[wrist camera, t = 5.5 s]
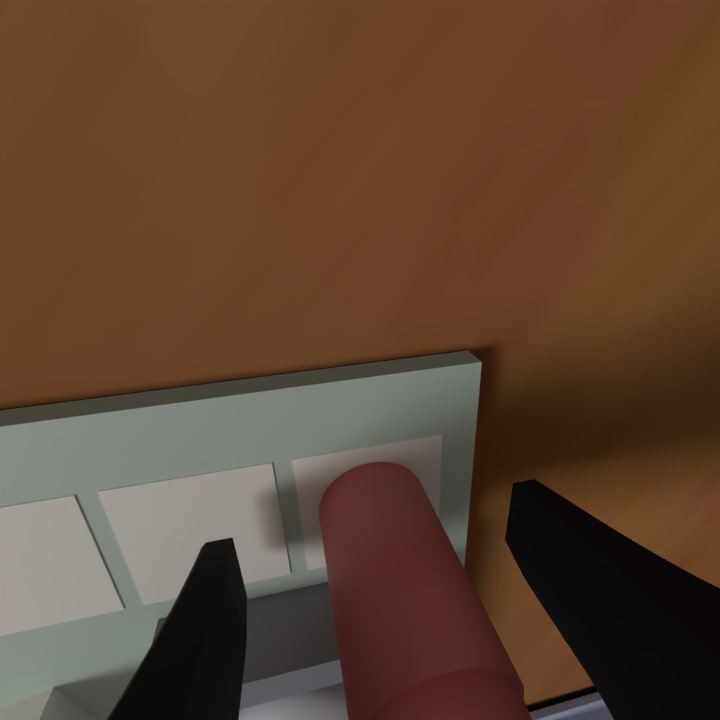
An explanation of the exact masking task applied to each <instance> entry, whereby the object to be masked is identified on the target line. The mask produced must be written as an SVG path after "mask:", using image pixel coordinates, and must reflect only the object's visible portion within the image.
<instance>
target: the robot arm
mask: <svg viewBox="0 0 720 720" xmlns="http://www.w3.org/2000/svg"><path fill="white" fill-rule="evenodd" d="M505 540H506V542H507V544H508V547H509V549H510V551H511V553H512V555H513V557H514V559H515V561H516V563H517V565H518V566H519V568H520V570H521V572H522V574H523V576H524V578H525V580H526V581H527V583H528V584H529V586H530V587H531V589H532V591H533V592H534V594H535V595H536V597H537V598H538V600H539V601H540V603H541V604H542V606H543V607H544V609H545V610H546V612H547V613H548V615H549V617H550V618H551V620H552V621H553V623H554V624H555V626H556V627H557V629H558V630H559V632H560V633H561V635H562V636H563V638H564V639H565V641H566V642H567V644H568V645H569V647H570V648H571V650H572V651H573V653H574V654H575V656H576V657H577V659H578V660H579V662H580V663H581V665H582V666H583V668H584V669H585V671H586V673H587V674H588V676H589V677H590V679H591V681H592V682H593V684H594V686H595V687H596V689H597V690H598V692H595V693H592V694H588V695H585V696H582V697H578V698H575V699H572V700H568V701H565V702H562V703H558V704H555V705H552V706H548V707H545V708H542V709H538V710H535V711H531V712H529V713H530V716H531V719H532V720H720V588H718V587H716V586H714V585H712V584H710V583H708V582H706V581H704V580H702V579H700V578H698V577H696V576H694V575H692V574H691V573H689V572H687V571H685V570H683V569H681V568H679V567H678V566H676V565H674V564H672V563H671V562H669V561H667V560H665V559H663V558H662V557H660V556H658V555H656V554H655V553H653V552H651V551H649V550H648V549H646V548H644V547H642V546H641V545H639V544H637V543H636V542H634V541H632V540H631V539H629V538H627V537H626V536H624V535H622V534H621V533H619V532H617V531H616V530H614V529H613V528H611V527H609V526H608V525H606V524H604V523H603V522H601V521H600V520H598V519H597V518H595V517H593V516H592V515H590V514H589V513H587V512H585V511H584V510H582V509H581V508H579V507H578V506H576V505H575V504H573V503H571V502H570V501H568V500H567V499H565V498H564V497H562V496H560V495H559V494H557V493H556V492H554V491H553V490H551V489H549V488H548V487H546V486H544V485H543V484H541V483H540V482H538V481H536V480H534V479H533V480H528V481H522V482H517V483H513V488H512V495H511V502H510V509H509V516H508V523H507V530H506V537H505ZM246 642H247V594H246V590H245V586H244V582H243V578H242V574H241V569H240V565H239V561H238V557H237V553H236V549H235V545H234V541H233V537H232V538H227V539H221V540H216V541H211V542H206V543H205V544H204V545H203V546H202V547H201V550H200V552H199V554H198V556H197V558H196V561H195V563H194V565H193V567H192V569H191V571H190V573H189V575H188V577H187V579H186V581H185V583H184V585H183V587H182V589H181V591H180V593H179V595H178V597H177V599H176V601H175V603H174V605H173V607H172V609H171V610H170V612H169V614H168V616H167V618H166V619H165V621H164V623H163V625H162V627H161V629H160V630H159V632H158V634H157V636H156V638H155V640H154V641H153V643H152V645H151V647H150V649H149V650H148V652H147V654H146V655H145V657H144V659H143V660H142V662H141V664H140V665H139V667H138V669H137V670H136V672H135V674H134V675H133V677H132V679H131V680H130V682H129V684H128V685H127V687H126V689H125V690H124V692H123V694H122V695H121V697H120V699H119V700H118V702H117V704H116V705H115V707H114V708H113V710H112V711H111V713H110V715H109V716H108V718H107V719H106V720H238V719H239V710H240V701H241V692H242V683H243V673H244V664H245V654H246Z"/></svg>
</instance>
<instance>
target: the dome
mask: <svg viewBox="0 0 720 720" xmlns="http://www.w3.org/2000/svg"><path fill="white" fill-rule="evenodd" d="M238 720H348V714H347V707H346V700H345V693H344V686H343V683H339V684H335V685H332V686H328V687H324V688H320V689H316V690H312V691H309V692H305V693H301V694H297V695H293V696H290V697H286V698H282V699H278V700H274V701H271V702H267V703H263V704H259V705H255V706H252V707H248V708H244V709H240V710H239V719H238Z"/></svg>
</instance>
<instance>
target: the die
mask: <svg viewBox="0 0 720 720" xmlns="http://www.w3.org/2000/svg"><path fill="white" fill-rule="evenodd" d="M0 720H96V719H95V718H93V717H92V716H91V715H89V714H88V713H87V712H85V711H84V710H83V709H82V708H80V707H79V706H78V705H76V704H75V703H74V702H72V701H71V700H70V699H69V698H67V697H66V696H65V695H63V694H62V693H61V692H59V691H58V690H57V689H56V688H54V687H52V688H50V689H47V690H45V691H43V692H40V693H38V694H35V695H33V696H30V697H28V698H26V699H23V700H21V701H18V702H16V703H13V704H11V705H9V706H6V707H4V708H1V709H0Z"/></svg>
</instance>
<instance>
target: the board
mask: <svg viewBox="0 0 720 720" xmlns="http://www.w3.org/2000/svg"><path fill="white" fill-rule="evenodd" d="M481 366H482V362H481V361H480V360H479V359H478V358H476V357H475V356H474V355H473V354H471V353H470V352H469V351H468V350H467V351H460V352H452V353H444V354H436V355H428V356H421V357H413V358H405V359H397V360H389V361H382V362H374V363H366V364H358V365H350V366H343V367H335V368H327V369H319V370H311V371H304V372H296V373H288V374H280V375H272V376H265V377H257V378H249V379H241V380H234V381H226V382H218V383H210V384H202V385H195V386H187V387H179V388H171V389H163V390H156V391H148V392H140V393H132V394H124V395H117V396H109V397H101V398H93V399H85V400H78V401H70V402H62V403H54V404H46V405H39V406H31V407H23V408H15V409H7V410H0V709H1V708H4V707H6V706H9V705H11V704H13V703H16V702H18V701H21V700H23V699H26V698H28V697H30V696H33V695H35V694H38V693H40V692H43V691H45V690H47V689H50V688H52V687H54V688H56V689H57V690H58V691H59V692H61V693H62V694H63V695H65V696H66V697H67V698H69V699H70V700H71V701H72V702H74V703H75V704H76V705H78V706H79V707H80V708H82V709H83V710H84V711H85V712H87V713H88V714H89V715H91V716H92V717H93V718H95V719H96V720H106V719H107V718H108V716H109V715H110V713H111V711H112V710H113V708H114V707H115V705H116V704H117V702H118V700H119V699H120V697H121V695H122V694H123V692H124V690H125V689H126V687H127V685H128V684H129V682H130V680H131V679H132V677H133V675H134V674H135V672H136V670H137V669H138V667H139V665H140V664H141V662H142V660H143V659H144V657H145V655H146V654H147V652H148V650H149V649H150V647H151V645H152V643H153V641H154V640H155V638H156V636H157V634H158V632H159V630H160V629H161V627H162V625H163V623H164V621H165V619H166V618H167V616H168V614H169V612H170V610H171V609H172V607H173V605H174V603H175V601H176V599H177V597H178V595H179V593H180V591H181V589H182V587H183V585H184V583H185V581H186V579H187V577H188V575H189V573H190V571H191V569H192V567H193V565H194V563H195V561H196V558H197V556H198V554H199V552H200V550H201V547H202V546H203V545H204V544H205V543H206V542H211V541H216V540H221V539H227V538H232V537H233V541H234V545H235V549H236V553H237V557H238V561H239V565H240V569H241V574H242V578H243V582H244V586H245V590H246V594H247V642H246V654H245V664H244V673H243V683H242V692H241V701H240V709H244V708H248V707H252V706H255V705H259V704H263V703H267V702H271V701H274V700H278V699H282V698H286V697H290V696H293V695H297V694H301V693H305V692H309V691H312V690H316V689H320V688H324V687H328V686H332V685H335V684H339V683H343V679H342V672H341V665H340V658H339V651H338V644H337V637H336V630H335V623H334V616H333V609H332V602H331V596H330V589H329V582H328V575H327V568H326V561H325V554H324V547H323V540H322V533H321V526H320V519H319V506H320V502H321V499H322V497H323V495H324V493H325V491H326V490H327V488H328V487H329V486H330V484H331V483H332V482H333V481H334V480H335V479H336V478H338V477H339V476H340V475H342V474H343V473H345V472H346V471H348V470H350V469H352V468H354V467H357V466H359V465H362V464H367V463H372V462H391V463H395V464H399V465H401V466H404V467H406V468H407V469H409V470H410V471H412V472H413V473H414V474H415V475H416V476H417V478H418V479H419V481H420V483H421V485H422V487H423V489H424V491H425V493H426V495H427V496H428V498H429V500H430V502H431V504H432V506H433V508H434V510H435V512H436V514H437V516H438V518H439V520H440V522H441V524H442V526H443V528H444V530H445V532H446V534H447V536H448V538H449V540H450V542H451V544H452V546H453V548H454V550H455V552H456V554H457V556H458V558H459V560H460V561H461V563H462V565H463V567H464V565H465V554H466V542H467V530H468V518H469V507H470V495H471V483H472V472H473V460H474V448H475V437H476V425H477V413H478V401H479V390H480V378H481Z"/></svg>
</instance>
